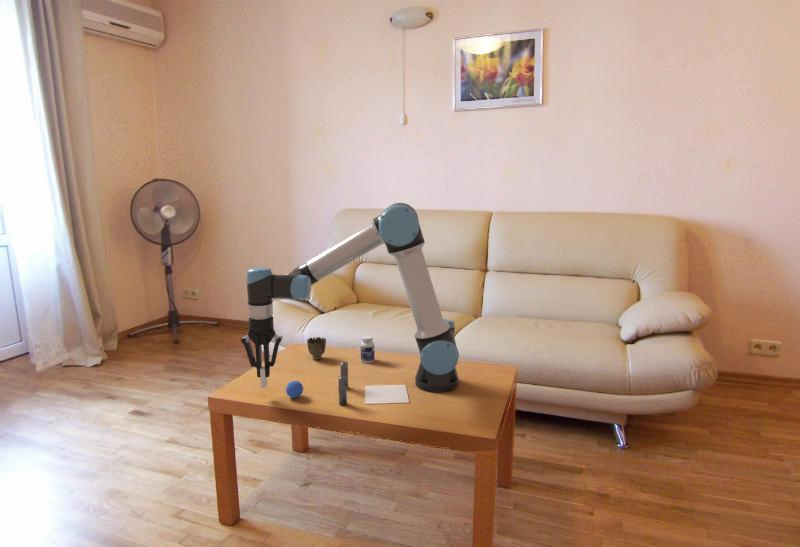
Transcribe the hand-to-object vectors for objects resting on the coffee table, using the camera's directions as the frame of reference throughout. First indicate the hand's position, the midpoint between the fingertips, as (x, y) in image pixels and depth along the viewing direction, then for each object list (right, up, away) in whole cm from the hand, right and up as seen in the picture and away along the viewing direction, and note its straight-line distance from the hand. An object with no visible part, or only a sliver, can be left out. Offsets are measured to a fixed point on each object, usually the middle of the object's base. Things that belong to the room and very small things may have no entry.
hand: (264, 386), depth 166 cm
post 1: (+25, -3, +9) cm, 27 cm away
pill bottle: (+32, +2, +34) cm, 46 cm away
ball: (+10, -1, +1) cm, 10 cm away
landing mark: (+40, -4, +3) cm, 40 cm away
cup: (+11, +3, +36) cm, 38 cm away
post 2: (+26, -5, -4) cm, 27 cm away
